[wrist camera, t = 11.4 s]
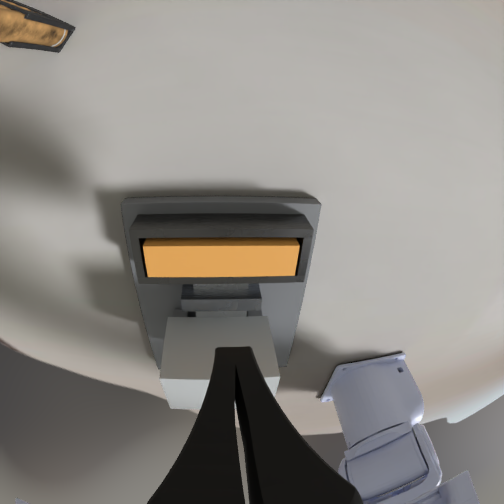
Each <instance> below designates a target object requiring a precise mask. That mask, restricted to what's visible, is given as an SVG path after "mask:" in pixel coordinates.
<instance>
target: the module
mask: <svg viewBox="0 0 504 504" xmlns="http://www.w3.org/2000/svg"><path fill="white" fill-rule="evenodd" d="M244 346H250V347H251V348H252V349H253V352H254V355H255V358H256V361H257V364H258V366H259V368H260V371H261V373H262V375H263V377H264V379H265V381H266V383H267V385H268V387H269V389H270V390H271V392H272V394H273V396H274V398H275V395H276V391H277V387H278V384H279V380H280V372H279V368H278V363H277V358H276V354H275V349H274V344H273V339H272V335H271V330H270V325H269V321H268V316H262V311H261V310H255V311H247V317H188V311H182V309H174V312H173V317H168V319H167V326H166V332H165V339H164V346H163V354H162V362H161V370H160V378H159V379H160V382H161V384H162V387H163V390H164V393H165V395H166V398H167V401H168V403H169V406H170V408H171V409H201V406H202V403H203V401H204V398H205V395H206V391H207V388H208V385H209V381H210V378H211V373H212V369H213V364H214V357H215V349H216V348H217V347H244ZM235 409H236V404H235Z"/></svg>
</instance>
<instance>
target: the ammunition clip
mask: <svg viewBox="0 0 504 504" xmlns="http://www.w3.org/2000/svg"><path fill="white" fill-rule="evenodd" d="M75 28H76V27H74V26H72V25H70V24H68V23H66V22H63V21H61V20H59V19H57V18H55V17H53V16H50V15H48V14H46V13H44V12H41V11H39V10H37V9H34V8H32V7H29V6H27V5H24V4H22V3H19V2H16V1H14V0H0V42H1V43H2V44H4V45H6V46H8V47H16V48H27V49H36V50H44V51H51V52H58V53H59V52H60V51H61V49H62V48H63V46H64V45H65V43H66V42H67V40H68V39H69V37H70V36H71V34H72V33H73V31H74V30H75Z"/></svg>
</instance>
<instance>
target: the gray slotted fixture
mask: <svg viewBox="0 0 504 504" xmlns="http://www.w3.org/2000/svg"><path fill="white" fill-rule="evenodd" d="M313 232H314V229H313V227H312V226H311V224H310V223H309V221H308V219H307V218H306V216H305V215H304V214H259V213H185V214H139V215H137V216H136V218H135V220H134V222H133V223H132V225H131V227H130V229H129V235H130V241H131V247H132V253H133V258H134V264H135V269H136V274H137V279H138V283H139V284H183V287H182V294H181V305H182V311H196V317H246V316H247V311H255V310H261V303H262V296H261V292H260V287H259V283H294V282H304V279H305V274H306V269H307V264H308V259H309V254H310V248H311V243H312V238H313ZM196 237H296V239H297V241H298V243H299V245H300V247H299V253H298V259H297V265H296V271H295V276H256V277H148V274H147V269H146V263H145V257H144V250H143V245H144V243H145V240H146V238H196Z"/></svg>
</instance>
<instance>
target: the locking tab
mask: <svg viewBox="0 0 504 504" xmlns="http://www.w3.org/2000/svg"><path fill="white" fill-rule="evenodd" d="M299 247H300V245H299V243H298V241H297V239H296V237H196V238H146V240H145V243H144V245H143V250H144V257H145V263H146V269H147V274H148V277H256V276H295V271H296V265H297V259H298V253H299Z"/></svg>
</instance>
